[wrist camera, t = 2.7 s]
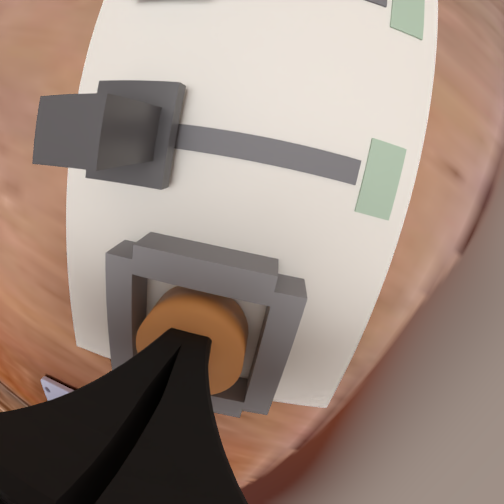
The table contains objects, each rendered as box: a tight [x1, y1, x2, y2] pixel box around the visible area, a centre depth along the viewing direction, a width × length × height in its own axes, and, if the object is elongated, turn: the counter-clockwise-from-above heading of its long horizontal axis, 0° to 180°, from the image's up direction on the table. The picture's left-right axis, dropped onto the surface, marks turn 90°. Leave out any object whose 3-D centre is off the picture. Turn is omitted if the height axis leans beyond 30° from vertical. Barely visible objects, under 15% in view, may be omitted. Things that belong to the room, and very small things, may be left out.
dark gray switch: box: [33, 80, 186, 190], centre depth 7 cm, size 3×3×4 cm
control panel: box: [66, 0, 438, 418], centre depth 9 cm, size 20×12×3 cm, turn 169°
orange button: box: [136, 286, 248, 395], centre depth 10 cm, size 4×4×2 cm
